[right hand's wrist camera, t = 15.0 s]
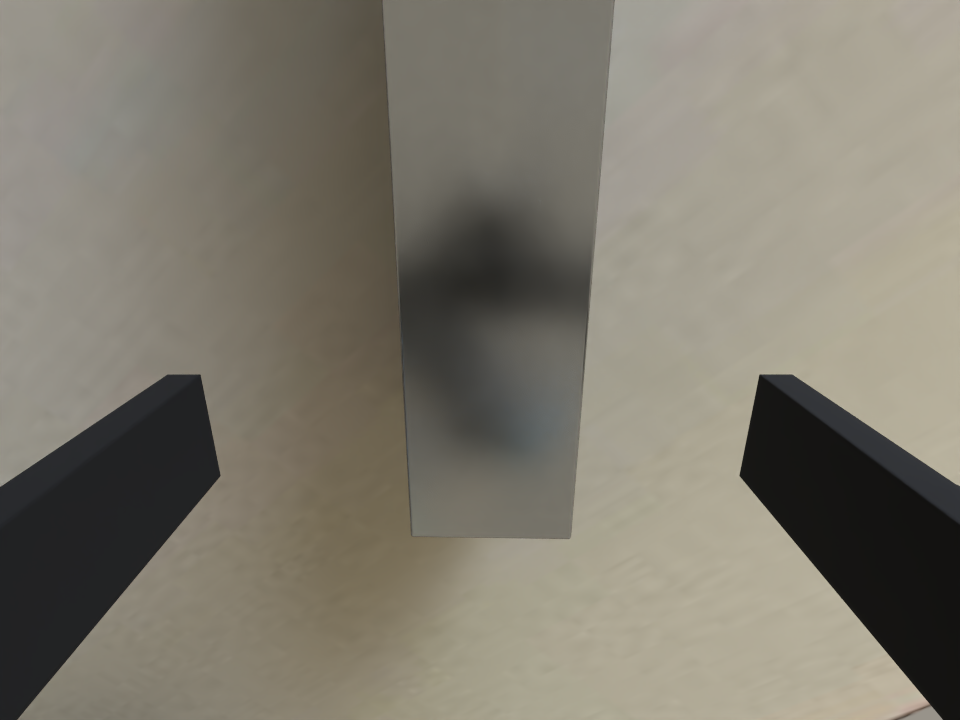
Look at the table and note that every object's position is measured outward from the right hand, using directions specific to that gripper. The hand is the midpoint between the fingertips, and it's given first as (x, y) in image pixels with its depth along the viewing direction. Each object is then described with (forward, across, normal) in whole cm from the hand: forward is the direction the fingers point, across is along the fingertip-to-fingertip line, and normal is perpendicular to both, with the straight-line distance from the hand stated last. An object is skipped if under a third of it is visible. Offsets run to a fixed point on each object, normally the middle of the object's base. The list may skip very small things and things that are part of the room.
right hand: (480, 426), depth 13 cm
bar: (+8, 0, -10) cm, 13 cm away
